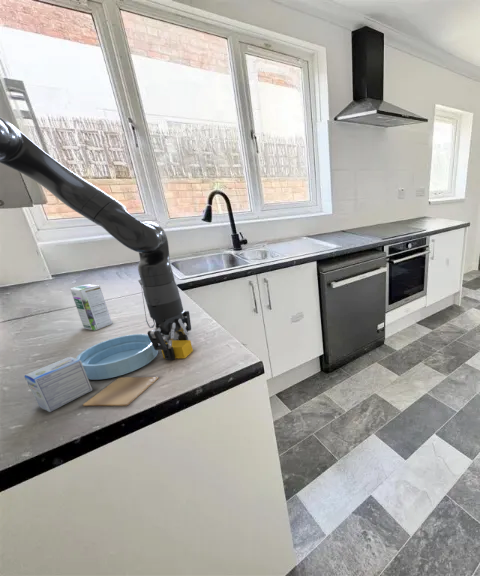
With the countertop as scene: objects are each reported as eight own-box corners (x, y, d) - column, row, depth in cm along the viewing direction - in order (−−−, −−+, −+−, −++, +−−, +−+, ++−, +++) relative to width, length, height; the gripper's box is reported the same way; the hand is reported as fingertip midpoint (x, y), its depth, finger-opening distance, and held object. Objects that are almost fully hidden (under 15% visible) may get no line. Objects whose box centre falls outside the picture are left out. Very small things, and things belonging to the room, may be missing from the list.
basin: (63, 382, 77) (56, 366, 75) (117, 347, 92) (112, 334, 91) (128, 381, 77) (122, 365, 75) (171, 347, 92) (167, 333, 90)
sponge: (163, 358, 86) (160, 347, 85) (172, 351, 90) (169, 340, 89) (184, 358, 86) (181, 347, 85) (193, 351, 90) (190, 340, 89)
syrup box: (83, 328, 105) (67, 288, 100) (102, 321, 110) (89, 283, 105) (94, 331, 103) (79, 290, 98) (113, 323, 108) (100, 284, 103)
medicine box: (82, 386, 75) (69, 355, 72) (93, 390, 73) (81, 359, 70) (38, 408, 68) (22, 374, 65) (50, 413, 66) (34, 379, 63)
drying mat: (82, 406, 68) (82, 404, 68) (119, 378, 78) (119, 377, 78) (127, 405, 68) (127, 404, 68) (158, 378, 78) (158, 376, 77)
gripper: (167, 289, 89) (181, 340, 95) (128, 309, 75) (146, 368, 81) (193, 289, 89) (205, 340, 95) (158, 309, 75) (175, 367, 81)
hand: (178, 353), depth 88 cm, fingers open, 5 cm apart
